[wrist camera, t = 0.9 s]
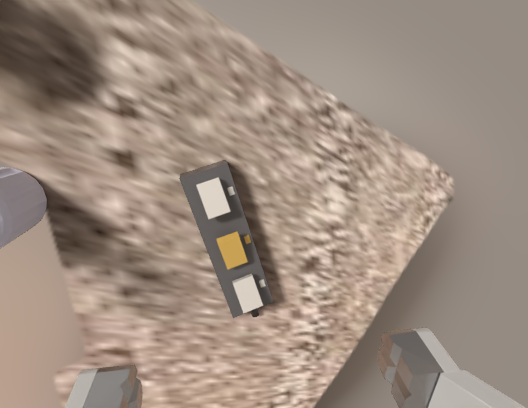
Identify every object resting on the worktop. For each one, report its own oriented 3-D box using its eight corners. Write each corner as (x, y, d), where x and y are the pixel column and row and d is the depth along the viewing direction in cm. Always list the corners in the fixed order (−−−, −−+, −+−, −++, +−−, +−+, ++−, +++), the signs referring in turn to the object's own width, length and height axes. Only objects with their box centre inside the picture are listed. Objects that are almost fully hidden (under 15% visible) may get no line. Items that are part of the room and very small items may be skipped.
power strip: (272, 303, 57) (279, 318, 53) (235, 318, 56) (239, 334, 52) (224, 159, 49) (227, 163, 44) (180, 174, 48) (179, 179, 43)
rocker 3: (261, 302, 50) (263, 305, 49) (242, 310, 50) (243, 313, 48) (251, 273, 50) (252, 275, 48) (232, 281, 49) (232, 283, 48)
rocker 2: (245, 257, 49) (247, 261, 48) (226, 264, 48) (227, 269, 47) (237, 231, 46) (238, 235, 45) (216, 238, 46) (217, 243, 45)
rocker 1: (230, 210, 45) (230, 211, 44) (208, 218, 45) (208, 219, 44) (218, 177, 45) (218, 177, 44) (196, 184, 44) (196, 184, 43)
